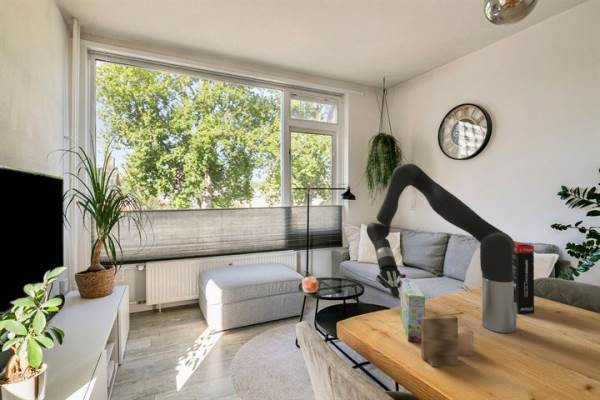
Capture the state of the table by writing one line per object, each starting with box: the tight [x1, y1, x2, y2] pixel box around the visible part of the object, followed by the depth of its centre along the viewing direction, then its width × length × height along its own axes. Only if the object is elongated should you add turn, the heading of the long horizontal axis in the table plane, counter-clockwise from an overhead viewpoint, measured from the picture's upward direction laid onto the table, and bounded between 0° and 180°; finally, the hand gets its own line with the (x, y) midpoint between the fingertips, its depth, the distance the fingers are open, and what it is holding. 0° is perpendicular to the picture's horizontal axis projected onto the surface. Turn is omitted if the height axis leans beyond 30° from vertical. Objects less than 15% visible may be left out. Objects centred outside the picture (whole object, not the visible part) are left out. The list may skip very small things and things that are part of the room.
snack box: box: [399, 277, 426, 343], centre depth 106 cm, size 21×6×15 cm, turn 168°
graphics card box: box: [512, 240, 535, 315], centre depth 123 cm, size 17×7×27 cm, turn 179°
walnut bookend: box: [420, 315, 462, 367], centre depth 85 cm, size 10×5×12 cm, turn 92°
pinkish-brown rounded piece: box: [458, 326, 475, 357], centre depth 90 cm, size 6×6×6 cm
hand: (396, 296), depth 120 cm, fingers closed
